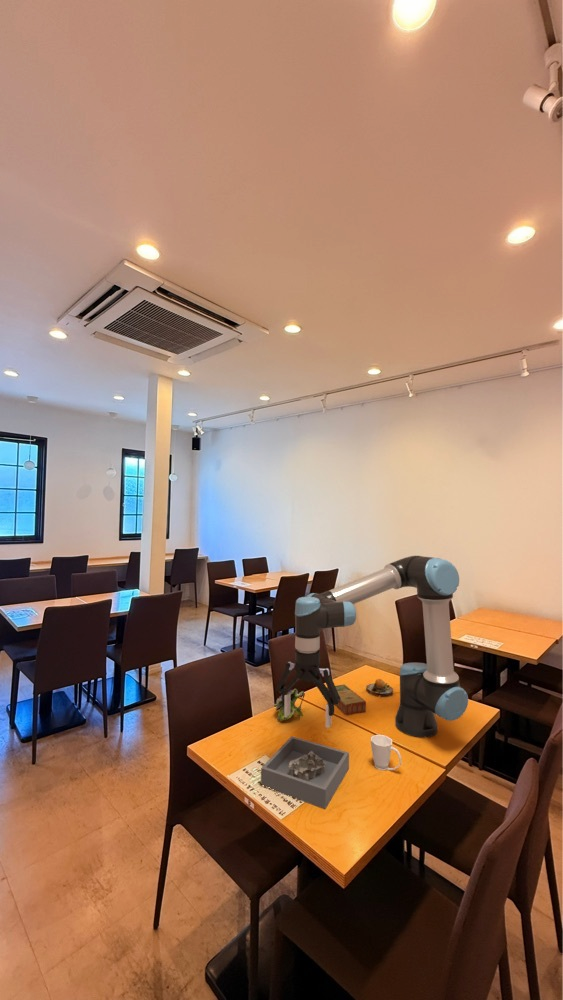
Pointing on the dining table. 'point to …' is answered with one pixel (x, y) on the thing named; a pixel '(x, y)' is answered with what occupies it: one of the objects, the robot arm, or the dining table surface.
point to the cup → (382, 752)
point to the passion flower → (293, 708)
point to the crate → (312, 790)
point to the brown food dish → (379, 689)
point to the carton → (349, 701)
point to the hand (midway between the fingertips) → (307, 720)
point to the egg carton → (307, 766)
